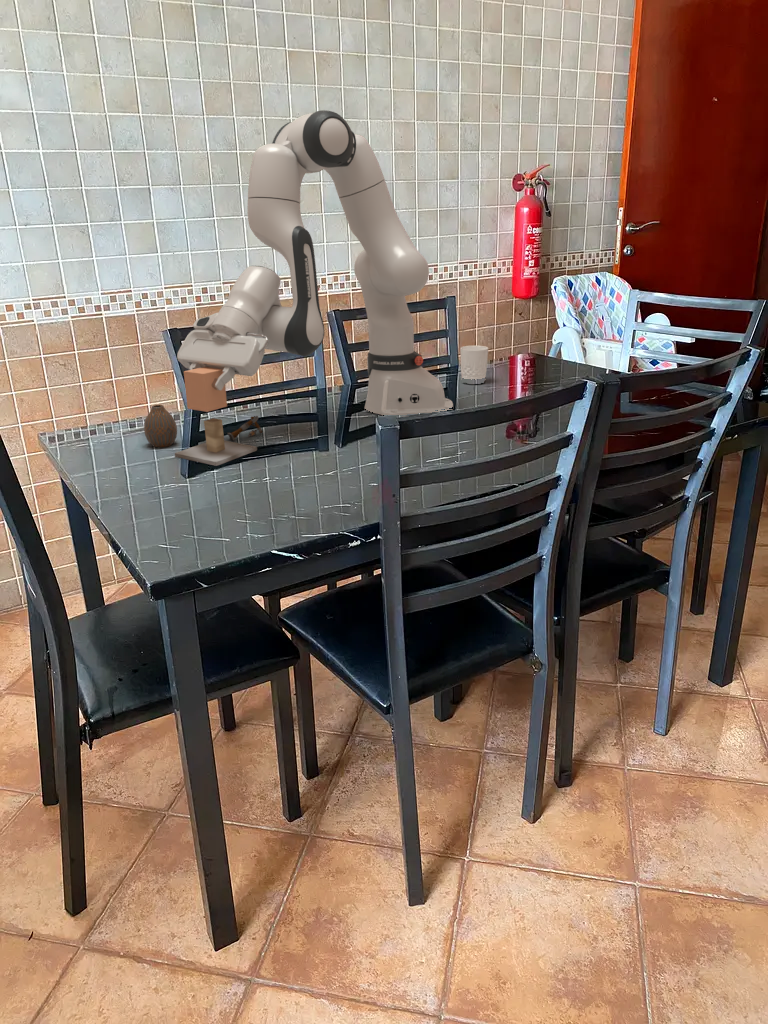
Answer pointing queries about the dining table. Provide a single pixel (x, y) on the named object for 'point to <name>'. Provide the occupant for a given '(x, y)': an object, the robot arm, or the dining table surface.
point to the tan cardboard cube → (204, 389)
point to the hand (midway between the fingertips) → (203, 386)
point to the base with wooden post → (215, 446)
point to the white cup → (474, 362)
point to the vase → (160, 427)
